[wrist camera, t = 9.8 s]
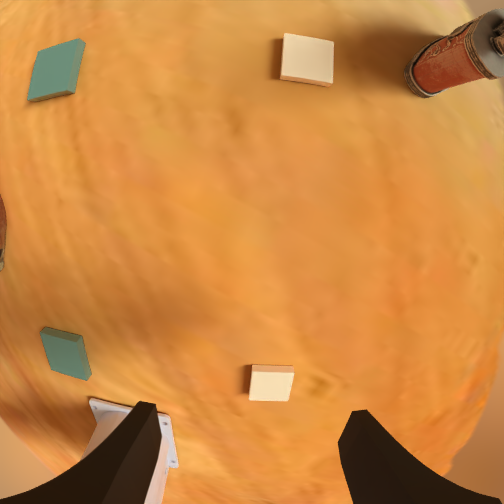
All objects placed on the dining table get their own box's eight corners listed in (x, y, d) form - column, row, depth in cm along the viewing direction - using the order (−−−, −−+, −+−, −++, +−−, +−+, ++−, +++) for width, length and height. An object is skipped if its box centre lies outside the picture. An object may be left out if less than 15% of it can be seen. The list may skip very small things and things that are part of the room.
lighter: (446, 30, 13) (526, -9, 3) (471, 64, 14) (557, 39, 4) (394, 68, 14) (493, 16, 5) (424, 108, 15) (535, 86, 5)
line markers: (285, 398, 21) (287, 406, 20) (56, 363, 20) (51, 369, 19) (330, 40, 14) (334, 34, 13) (45, 54, 13) (38, 51, 12)
